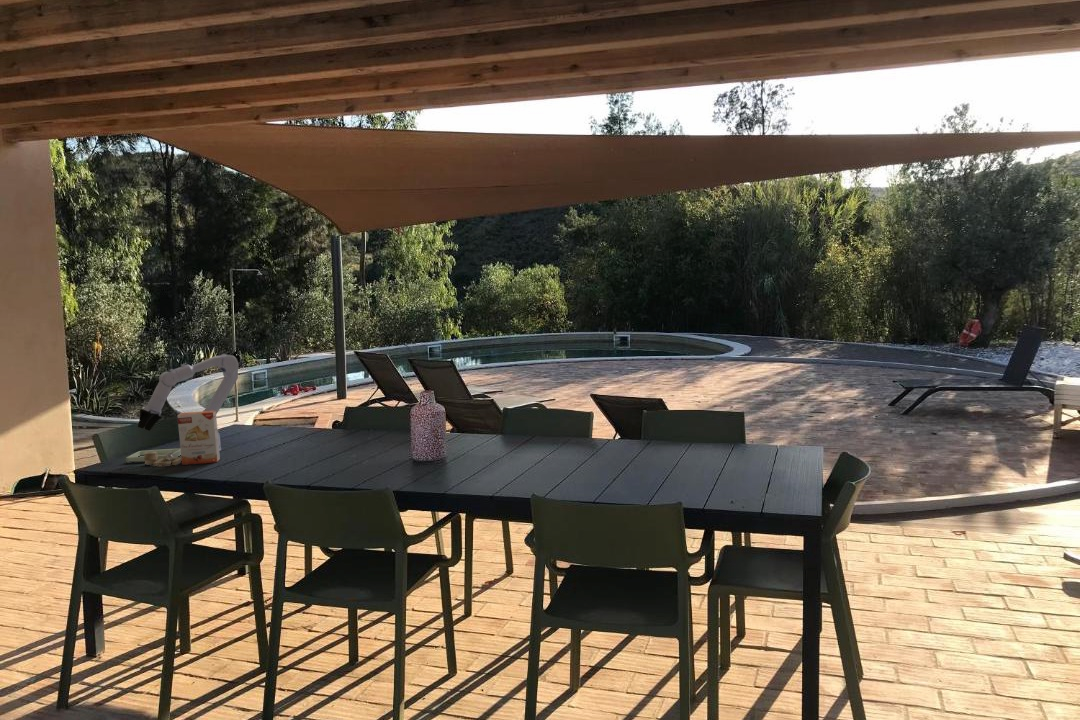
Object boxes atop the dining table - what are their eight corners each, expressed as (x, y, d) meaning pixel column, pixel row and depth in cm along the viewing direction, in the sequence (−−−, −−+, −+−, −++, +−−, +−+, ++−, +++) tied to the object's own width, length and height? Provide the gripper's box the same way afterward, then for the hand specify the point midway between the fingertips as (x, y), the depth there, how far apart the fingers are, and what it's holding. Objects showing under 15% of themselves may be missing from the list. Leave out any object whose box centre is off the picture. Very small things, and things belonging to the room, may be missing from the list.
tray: (184, 453, 380) (183, 448, 379) (172, 460, 366) (171, 454, 366) (139, 456, 379) (139, 450, 379) (126, 463, 365) (125, 457, 365)
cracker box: (181, 465, 355) (176, 414, 353) (185, 462, 361) (180, 412, 359) (217, 462, 357) (212, 411, 355) (220, 459, 363) (215, 409, 361)
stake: (174, 462, 363) (173, 451, 362) (170, 464, 358) (169, 453, 358) (170, 462, 363) (168, 451, 362) (166, 464, 358) (164, 453, 358)
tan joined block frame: (183, 460, 365) (182, 448, 364) (175, 465, 356) (174, 453, 356) (150, 462, 364) (149, 450, 364) (141, 467, 356) (140, 455, 355)
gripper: (155, 397, 374) (141, 427, 371) (143, 392, 360) (128, 423, 357) (171, 403, 374) (156, 433, 371) (159, 398, 360) (144, 429, 357)
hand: (143, 428), depth 364 cm, fingers open, 7 cm apart
